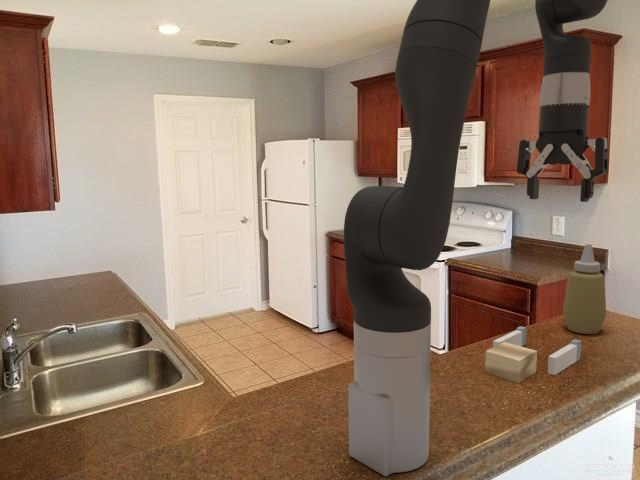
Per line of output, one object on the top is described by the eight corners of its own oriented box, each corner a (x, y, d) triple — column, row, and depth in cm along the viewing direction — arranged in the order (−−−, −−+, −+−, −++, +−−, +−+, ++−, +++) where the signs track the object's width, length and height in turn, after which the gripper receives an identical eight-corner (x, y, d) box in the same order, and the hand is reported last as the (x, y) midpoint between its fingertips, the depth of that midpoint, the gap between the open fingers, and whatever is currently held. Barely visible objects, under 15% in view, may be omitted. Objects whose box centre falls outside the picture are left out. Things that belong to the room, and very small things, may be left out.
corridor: (554, 375, 87) (555, 355, 87) (492, 356, 96) (493, 338, 95) (580, 359, 94) (581, 340, 93) (519, 342, 102) (520, 326, 101)
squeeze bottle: (594, 339, 103) (600, 250, 100) (554, 329, 109) (559, 244, 106) (611, 330, 108) (618, 244, 105) (572, 321, 114) (577, 240, 111)
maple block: (518, 384, 85) (519, 360, 84) (485, 373, 89) (485, 350, 88) (535, 373, 88) (537, 350, 88) (503, 363, 93) (503, 341, 92)
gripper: (513, 105, 90) (508, 199, 92) (603, 98, 80) (595, 204, 82) (531, 107, 95) (527, 197, 98) (618, 101, 85) (610, 201, 88)
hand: (558, 200), depth 90 cm, fingers open, 8 cm apart
